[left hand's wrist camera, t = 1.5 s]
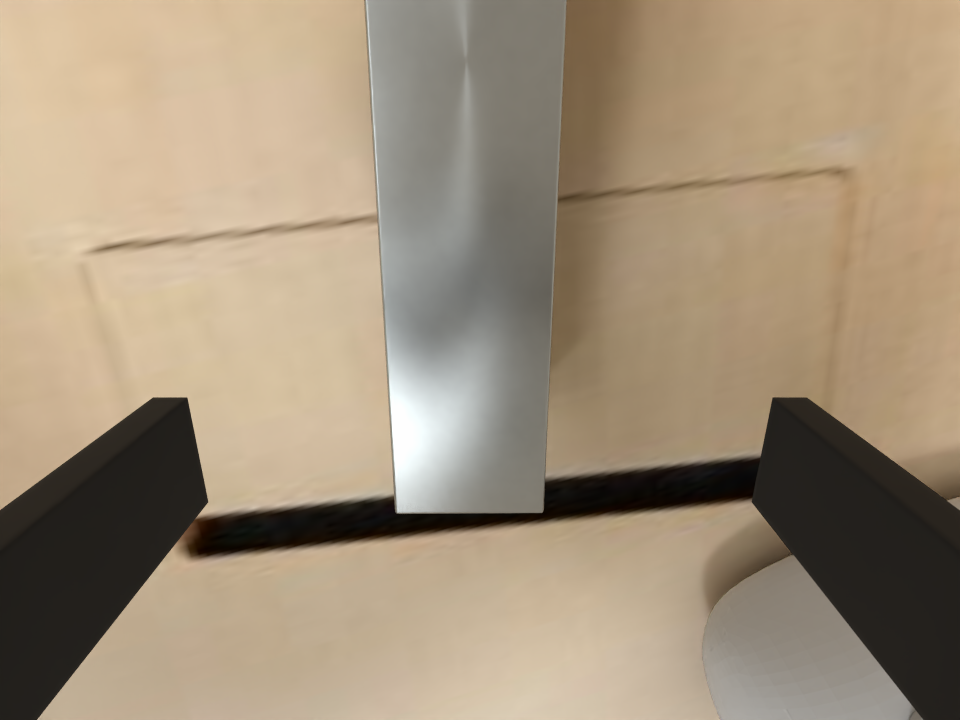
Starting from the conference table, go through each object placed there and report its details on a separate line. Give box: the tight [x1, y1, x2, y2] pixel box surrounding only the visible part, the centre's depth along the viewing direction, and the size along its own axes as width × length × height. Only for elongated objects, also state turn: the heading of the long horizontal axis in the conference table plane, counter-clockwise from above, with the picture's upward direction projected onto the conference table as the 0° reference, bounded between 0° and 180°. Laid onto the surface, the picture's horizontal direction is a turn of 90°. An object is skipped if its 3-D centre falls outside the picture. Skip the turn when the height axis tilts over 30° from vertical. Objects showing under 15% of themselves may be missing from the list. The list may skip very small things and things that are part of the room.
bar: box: [364, 0, 567, 514], centre depth 17 cm, size 25×5×9 cm, turn 0°
